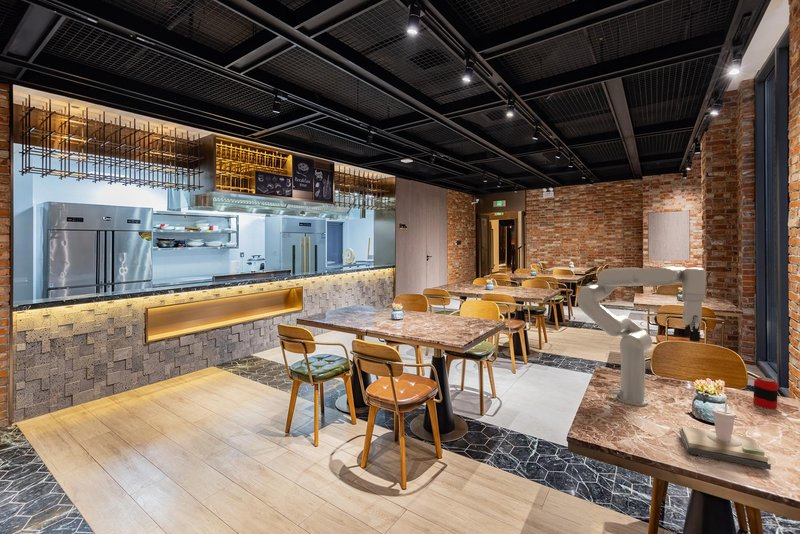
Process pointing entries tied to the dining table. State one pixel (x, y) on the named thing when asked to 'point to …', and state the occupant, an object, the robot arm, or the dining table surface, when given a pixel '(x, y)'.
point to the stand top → (723, 444)
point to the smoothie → (723, 422)
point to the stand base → (724, 456)
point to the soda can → (765, 393)
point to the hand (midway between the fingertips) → (692, 338)
